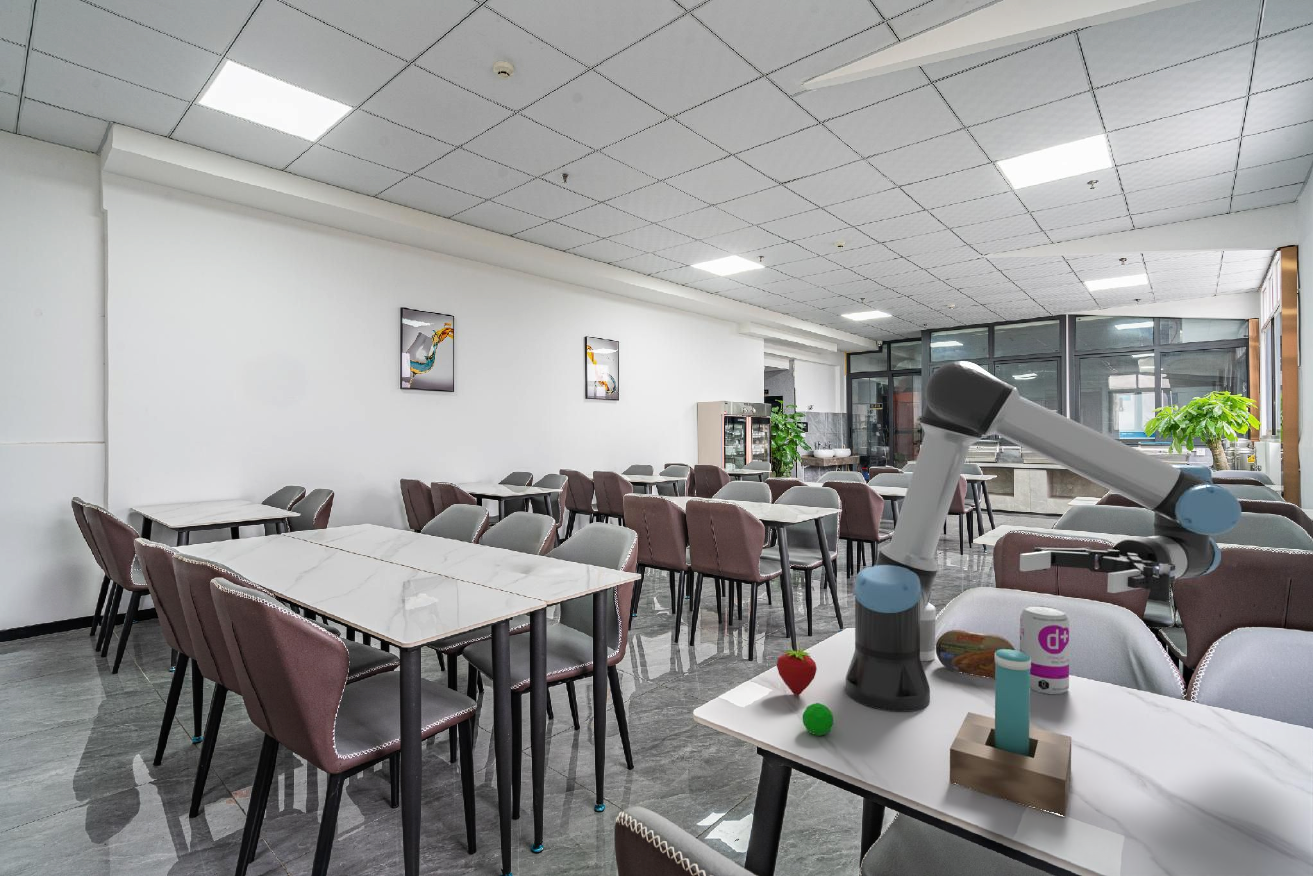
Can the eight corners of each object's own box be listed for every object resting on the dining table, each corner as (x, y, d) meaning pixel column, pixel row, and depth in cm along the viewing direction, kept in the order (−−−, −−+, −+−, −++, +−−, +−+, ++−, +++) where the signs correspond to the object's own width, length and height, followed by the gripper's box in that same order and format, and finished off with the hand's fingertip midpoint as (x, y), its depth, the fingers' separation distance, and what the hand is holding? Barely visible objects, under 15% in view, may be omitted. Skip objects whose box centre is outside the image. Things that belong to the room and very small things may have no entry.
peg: (991, 778, 93) (992, 656, 92) (996, 764, 97) (997, 646, 96) (1027, 788, 90) (1029, 663, 90) (1031, 774, 94) (1032, 653, 93)
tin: (935, 668, 134) (935, 628, 134) (937, 663, 137) (937, 624, 137) (1017, 683, 126) (1017, 641, 126) (1018, 678, 129) (1018, 636, 129)
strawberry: (780, 685, 126) (780, 635, 125) (819, 691, 123) (819, 640, 123) (773, 697, 120) (773, 644, 120) (813, 704, 117) (814, 650, 117)
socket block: (949, 782, 92) (949, 748, 92) (967, 742, 103) (968, 712, 103) (1064, 817, 84) (1065, 780, 84) (1070, 769, 95) (1071, 736, 95)
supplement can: (1078, 696, 120) (1078, 617, 120) (1032, 694, 121) (1032, 616, 120) (1055, 679, 128) (1055, 604, 128) (1012, 677, 129) (1012, 604, 129)
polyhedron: (797, 733, 106) (797, 705, 106) (811, 723, 110) (811, 696, 110) (824, 744, 103) (824, 714, 103) (838, 733, 107) (838, 704, 107)
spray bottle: (920, 664, 136) (921, 580, 136) (895, 653, 142) (895, 573, 142) (942, 658, 139) (942, 576, 139) (916, 648, 146) (916, 570, 145)
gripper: (1238, 603, 95) (1153, 620, 86) (1070, 566, 118) (990, 577, 109) (1240, 553, 95) (1155, 566, 86) (1072, 526, 117) (991, 533, 109)
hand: (1063, 572), depth 98 cm, fingers open, 13 cm apart
